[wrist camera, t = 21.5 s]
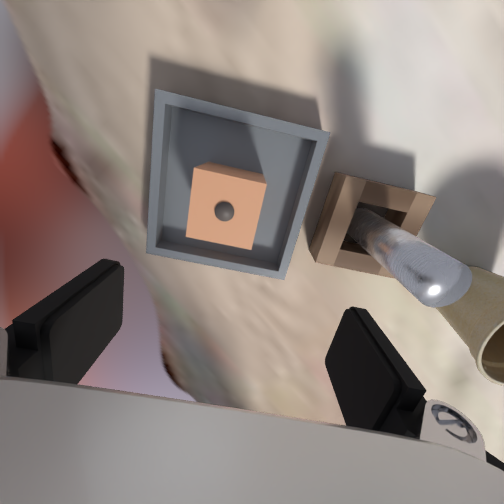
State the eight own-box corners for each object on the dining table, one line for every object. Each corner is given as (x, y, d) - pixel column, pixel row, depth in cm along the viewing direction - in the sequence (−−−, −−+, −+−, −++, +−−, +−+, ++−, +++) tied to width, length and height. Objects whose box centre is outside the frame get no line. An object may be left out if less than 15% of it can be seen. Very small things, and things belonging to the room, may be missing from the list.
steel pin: (367, 239, 26) (453, 311, 15) (339, 233, 25) (406, 302, 14) (379, 211, 24) (483, 266, 13) (350, 204, 24) (432, 256, 13)
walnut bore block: (379, 264, 27) (394, 278, 24) (308, 249, 26) (315, 262, 23) (415, 190, 24) (436, 197, 21) (335, 171, 23) (346, 175, 20)
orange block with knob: (251, 225, 24) (251, 250, 19) (200, 215, 24) (185, 237, 18) (263, 174, 22) (267, 184, 17) (208, 161, 22) (193, 167, 16)
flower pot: (404, 277, 27) (466, 332, 19) (494, 235, 25) (604, 276, 18) (429, 334, 31) (490, 400, 23) (510, 300, 29) (609, 360, 21)
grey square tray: (281, 268, 27) (284, 280, 25) (155, 243, 26) (146, 253, 24) (322, 133, 22) (330, 132, 19) (165, 94, 20) (155, 88, 18)
